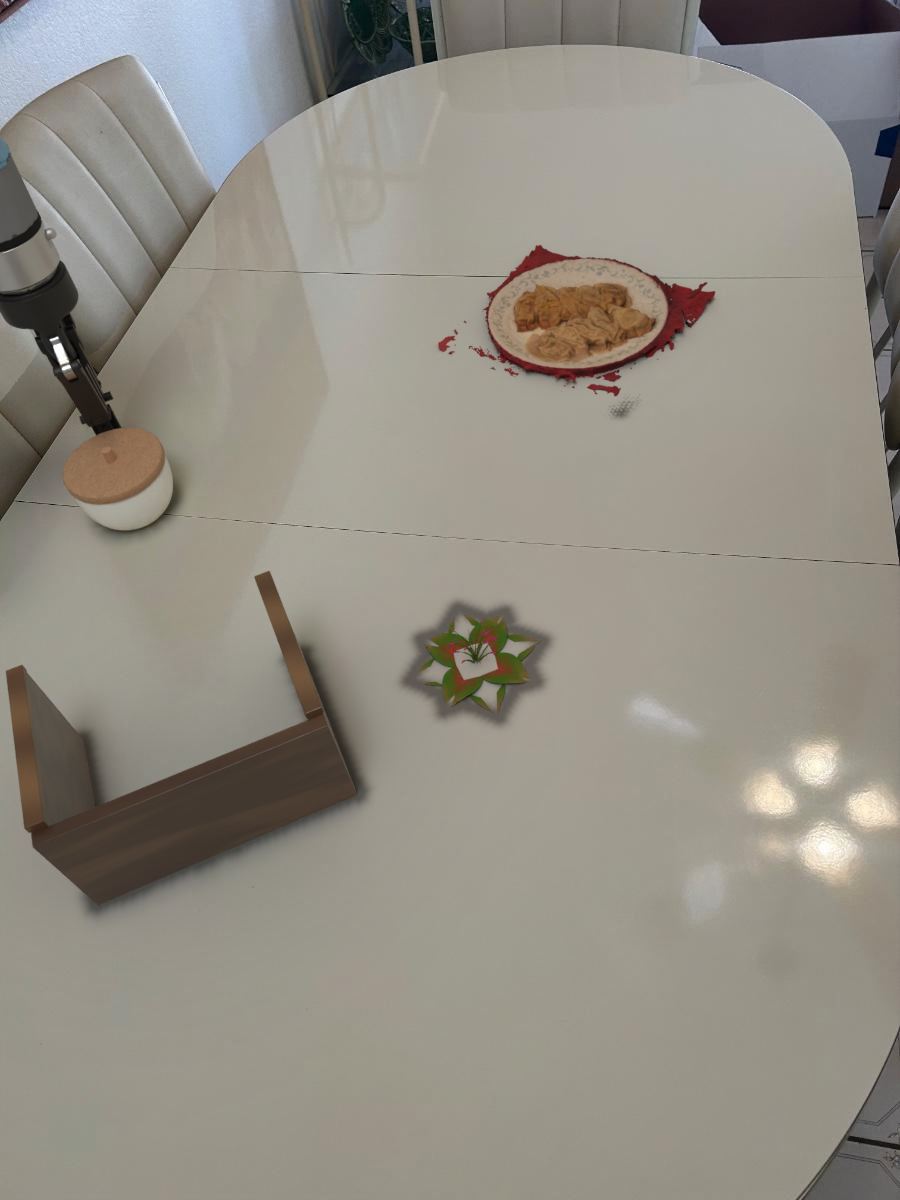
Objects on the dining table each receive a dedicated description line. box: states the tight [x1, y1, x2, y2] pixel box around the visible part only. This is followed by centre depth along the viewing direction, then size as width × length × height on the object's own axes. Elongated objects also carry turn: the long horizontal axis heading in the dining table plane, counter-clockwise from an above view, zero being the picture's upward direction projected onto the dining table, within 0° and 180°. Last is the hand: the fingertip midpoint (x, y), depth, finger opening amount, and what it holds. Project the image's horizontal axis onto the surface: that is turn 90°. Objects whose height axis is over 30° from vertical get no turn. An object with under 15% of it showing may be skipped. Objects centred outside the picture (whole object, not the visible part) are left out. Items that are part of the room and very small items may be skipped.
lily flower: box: [417, 614, 542, 716], centre depth 84 cm, size 12×12×5 cm
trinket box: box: [62, 427, 174, 531], centre depth 101 cm, size 11×11×9 cm
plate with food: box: [437, 244, 716, 397], centre depth 114 cm, size 24×26×4 cm
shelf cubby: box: [5, 570, 358, 906], centre depth 77 cm, size 16×23×13 cm
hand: (121, 454), depth 108 cm, fingers closed
